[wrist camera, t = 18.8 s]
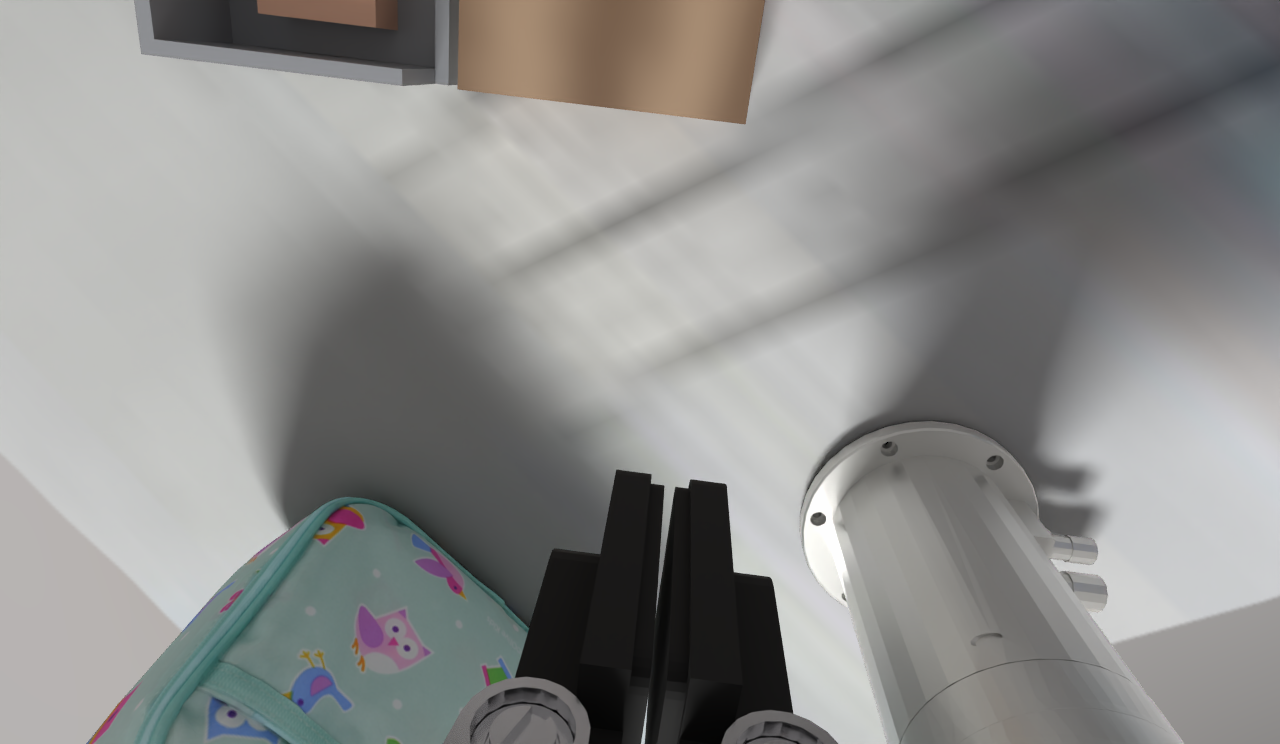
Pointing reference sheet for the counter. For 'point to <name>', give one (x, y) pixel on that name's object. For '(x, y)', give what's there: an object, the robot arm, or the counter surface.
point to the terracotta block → (336, 11)
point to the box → (306, 40)
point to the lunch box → (329, 643)
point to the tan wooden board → (615, 53)
